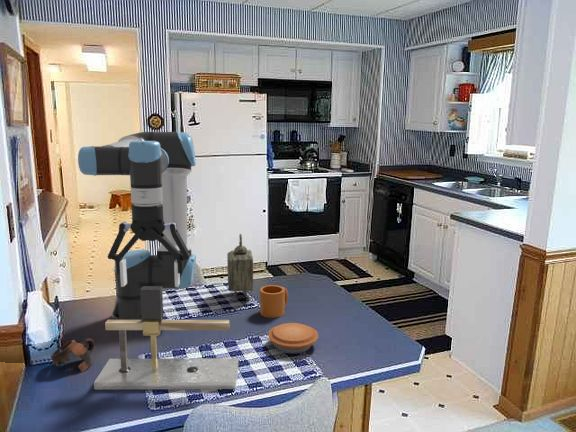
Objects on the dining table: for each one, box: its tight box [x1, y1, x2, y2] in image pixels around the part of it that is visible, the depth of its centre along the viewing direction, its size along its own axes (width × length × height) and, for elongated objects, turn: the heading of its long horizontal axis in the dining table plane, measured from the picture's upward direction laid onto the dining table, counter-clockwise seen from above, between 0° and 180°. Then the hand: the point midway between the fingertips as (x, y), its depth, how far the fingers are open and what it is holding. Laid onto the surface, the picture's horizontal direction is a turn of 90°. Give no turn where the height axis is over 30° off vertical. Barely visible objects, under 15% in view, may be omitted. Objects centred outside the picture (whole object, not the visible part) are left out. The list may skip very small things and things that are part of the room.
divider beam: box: [104, 319, 231, 371], centre depth 123 cm, size 2×32×14 cm, turn 92°
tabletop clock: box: [226, 233, 254, 302], centre depth 180 cm, size 14×9×25 cm, turn 9°
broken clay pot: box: [50, 337, 96, 373], centre depth 130 cm, size 12×10×8 cm
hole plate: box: [93, 357, 240, 391], centre depth 125 cm, size 12×36×2 cm, turn 92°
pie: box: [267, 322, 319, 355], centre depth 144 cm, size 15×16×5 cm
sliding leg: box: [140, 286, 164, 369], centre depth 122 cm, size 5×5×23 cm
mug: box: [259, 284, 289, 319], centre depth 168 cm, size 9×12×9 cm
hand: (150, 285), depth 119 cm, fingers open, 13 cm apart
